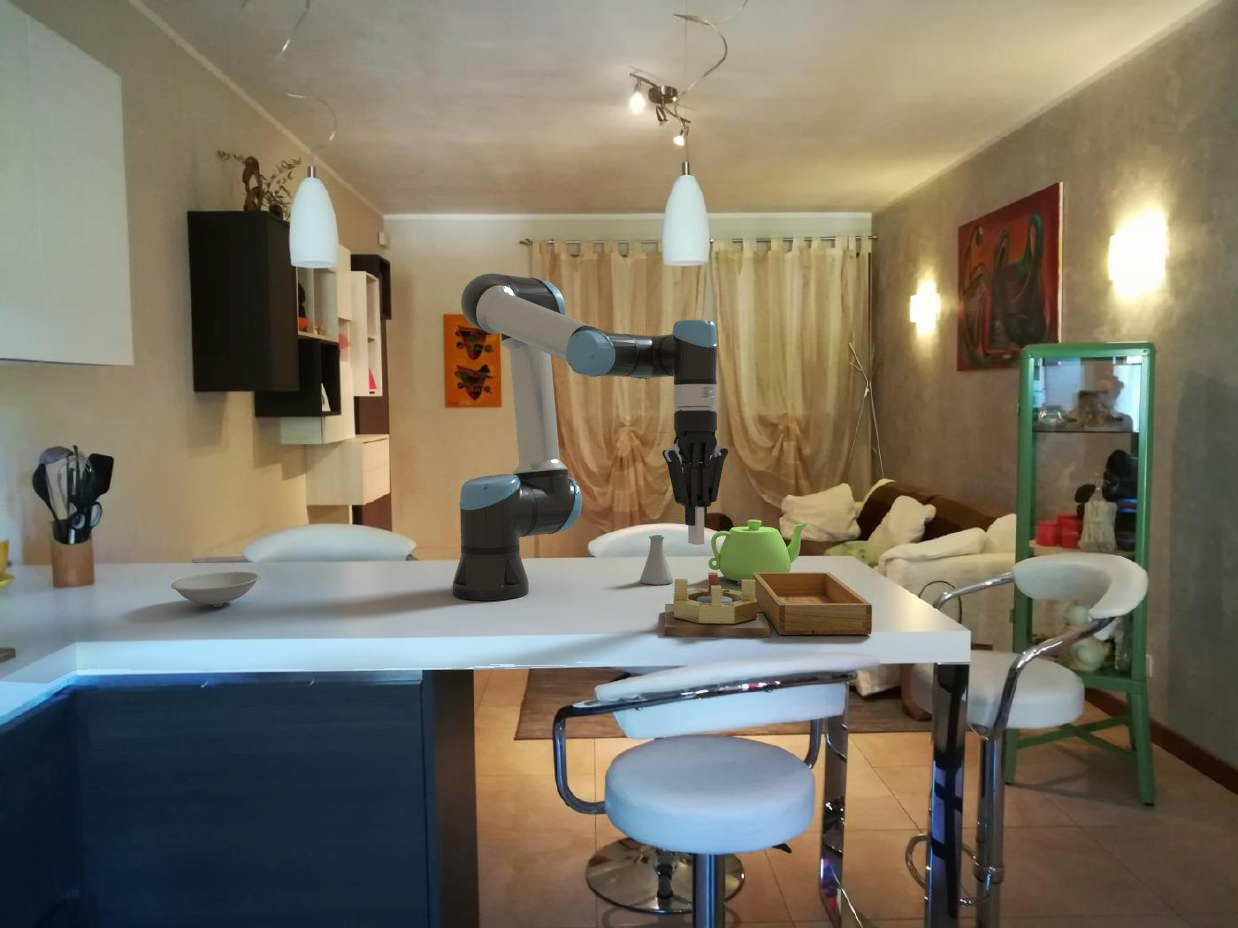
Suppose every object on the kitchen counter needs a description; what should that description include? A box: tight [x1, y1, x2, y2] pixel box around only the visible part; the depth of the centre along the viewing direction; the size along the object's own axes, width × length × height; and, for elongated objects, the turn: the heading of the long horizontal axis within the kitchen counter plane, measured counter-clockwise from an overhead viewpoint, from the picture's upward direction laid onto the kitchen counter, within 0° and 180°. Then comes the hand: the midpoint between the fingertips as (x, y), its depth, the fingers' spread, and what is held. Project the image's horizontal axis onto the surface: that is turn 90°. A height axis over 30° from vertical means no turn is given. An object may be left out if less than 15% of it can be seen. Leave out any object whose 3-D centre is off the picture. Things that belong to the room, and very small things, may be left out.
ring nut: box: [673, 572, 758, 624], centre depth 152 cm, size 14×14×6 cm
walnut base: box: [664, 595, 771, 638], centre depth 153 cm, size 17×17×4 cm
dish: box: [170, 570, 262, 608], centre depth 167 cm, size 18×14×5 cm
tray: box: [753, 571, 873, 636], centre depth 159 cm, size 31×15×6 cm, turn 179°
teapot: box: [708, 519, 811, 586], centre depth 190 cm, size 22×15×13 cm
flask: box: [639, 534, 674, 586], centre depth 189 cm, size 7×7×10 cm
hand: (696, 543), depth 156 cm, fingers closed
